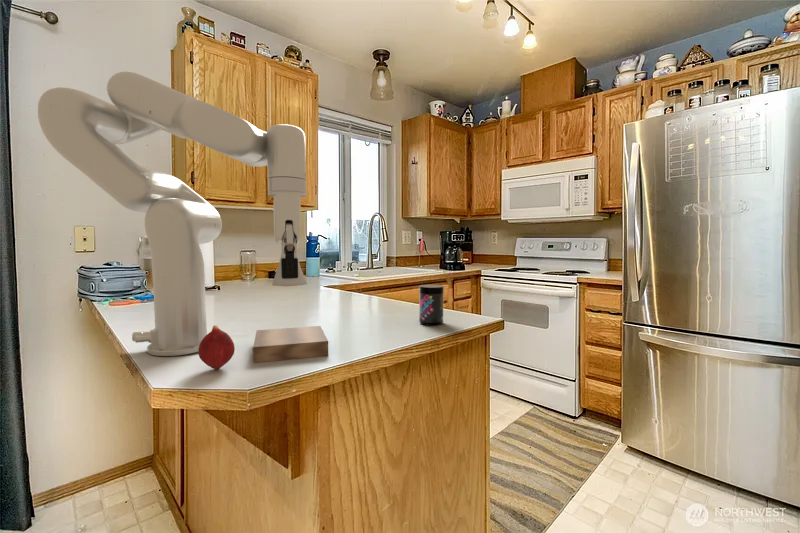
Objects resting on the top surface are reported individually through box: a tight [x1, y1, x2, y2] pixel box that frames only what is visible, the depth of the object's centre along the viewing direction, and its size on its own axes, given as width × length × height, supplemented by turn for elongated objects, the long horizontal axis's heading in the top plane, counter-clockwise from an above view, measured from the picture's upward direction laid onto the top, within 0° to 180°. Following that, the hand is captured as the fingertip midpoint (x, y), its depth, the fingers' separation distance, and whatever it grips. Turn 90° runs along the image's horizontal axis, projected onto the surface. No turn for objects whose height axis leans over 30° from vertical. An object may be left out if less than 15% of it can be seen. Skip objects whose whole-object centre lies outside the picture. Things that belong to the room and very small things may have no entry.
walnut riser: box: [252, 325, 329, 364], centre depth 82 cm, size 14×14×3 cm
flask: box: [272, 240, 308, 287], centre depth 80 cm, size 7×7×10 cm
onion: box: [197, 324, 236, 371], centre depth 69 cm, size 6×6×8 cm
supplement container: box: [418, 284, 445, 327], centre depth 106 cm, size 7×7×10 cm
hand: (289, 276), depth 81 cm, fingers closed on flask, 4 cm apart
